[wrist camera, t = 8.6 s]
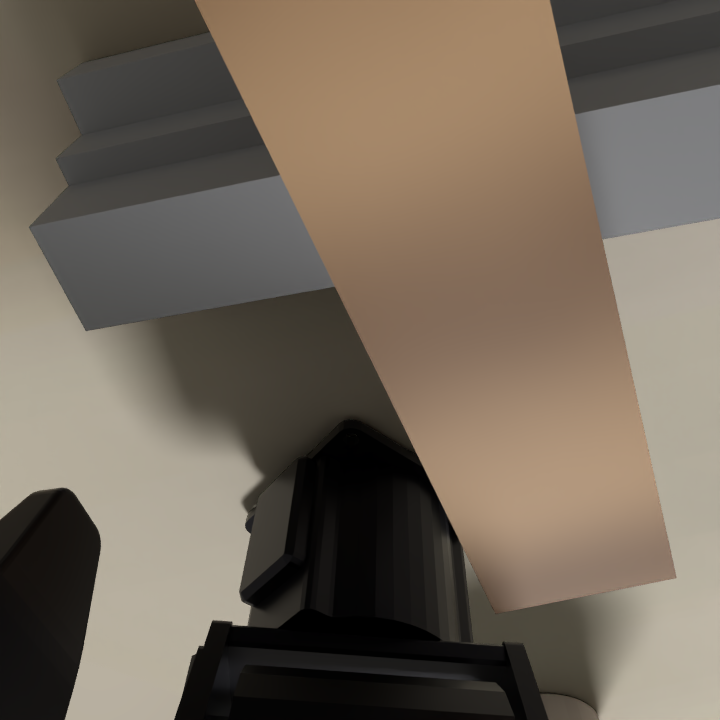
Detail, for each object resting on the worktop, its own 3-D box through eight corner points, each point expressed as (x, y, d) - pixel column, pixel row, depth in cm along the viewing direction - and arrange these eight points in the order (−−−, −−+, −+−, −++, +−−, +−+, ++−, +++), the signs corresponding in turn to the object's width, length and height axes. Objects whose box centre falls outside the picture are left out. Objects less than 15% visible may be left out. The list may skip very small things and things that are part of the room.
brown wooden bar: (624, 448, 16) (676, 578, 13) (477, 485, 17) (495, 613, 14) (426, -355, 8) (447, -468, 5) (174, -210, 9) (75, -241, 6)
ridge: (827, -120, 13) (1017, -110, 9) (784, 172, 17) (909, 270, 13) (82, 63, 16) (-23, 133, 12) (177, 284, 19) (121, 396, 15)
